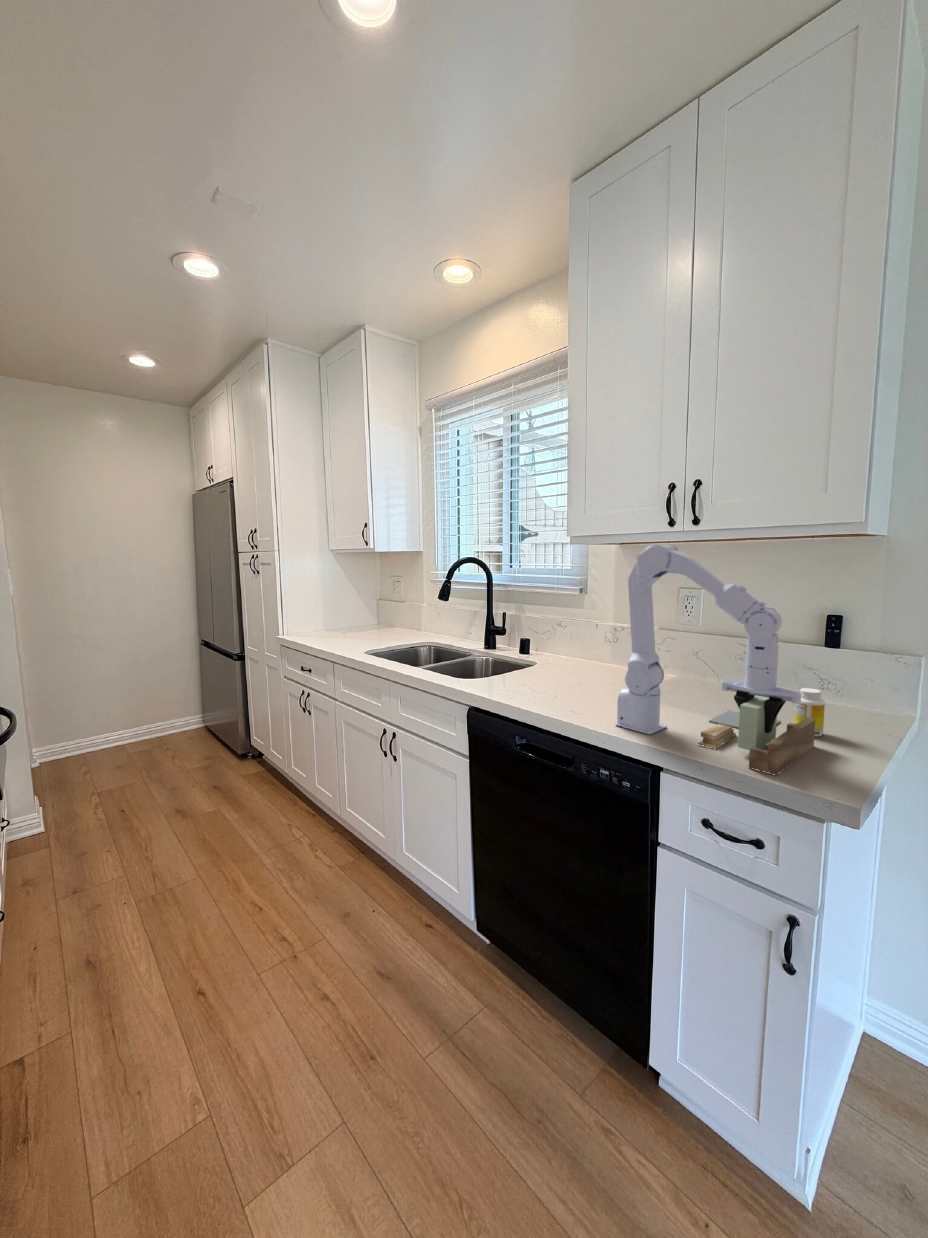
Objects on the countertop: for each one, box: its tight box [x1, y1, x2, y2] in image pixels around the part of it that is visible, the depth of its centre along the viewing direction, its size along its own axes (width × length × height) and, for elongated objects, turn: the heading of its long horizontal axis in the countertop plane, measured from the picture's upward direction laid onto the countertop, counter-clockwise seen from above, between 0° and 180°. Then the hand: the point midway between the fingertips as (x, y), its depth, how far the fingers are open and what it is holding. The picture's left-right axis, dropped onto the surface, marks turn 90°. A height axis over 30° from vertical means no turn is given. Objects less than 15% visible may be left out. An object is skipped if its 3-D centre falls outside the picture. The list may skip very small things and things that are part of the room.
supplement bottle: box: [793, 687, 826, 738], centre depth 117 cm, size 6×6×10 cm
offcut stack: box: [697, 724, 737, 749], centre depth 114 cm, size 4×12×3 cm, turn 133°
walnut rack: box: [748, 718, 815, 776], centre depth 104 cm, size 5×22×6 cm, turn 130°
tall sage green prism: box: [737, 695, 778, 751], centre depth 107 cm, size 3×11×9 cm, turn 131°
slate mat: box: [708, 710, 781, 730], centre depth 126 cm, size 12×12×1 cm
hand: (757, 729), depth 108 cm, fingers closed on tall sage green prism, 3 cm apart
